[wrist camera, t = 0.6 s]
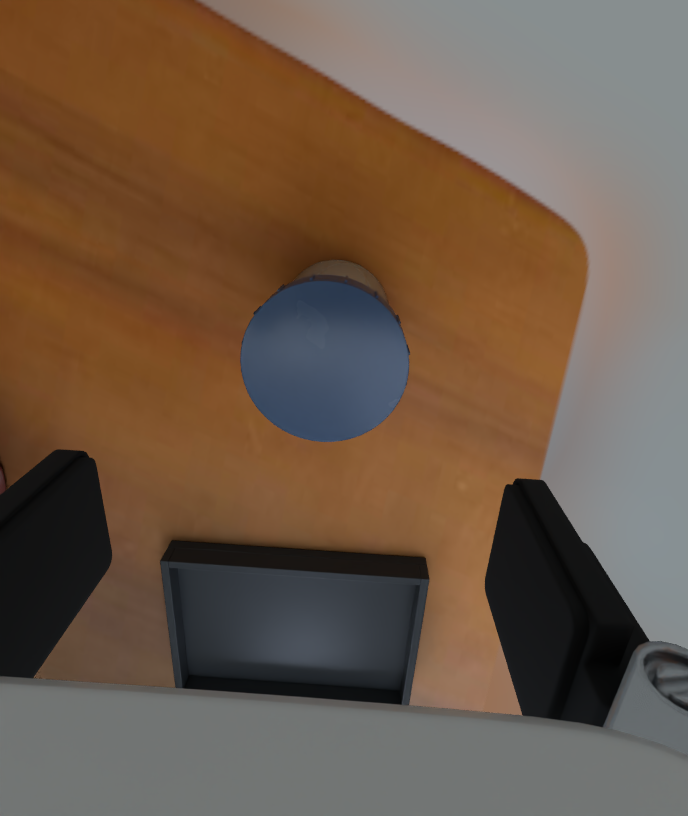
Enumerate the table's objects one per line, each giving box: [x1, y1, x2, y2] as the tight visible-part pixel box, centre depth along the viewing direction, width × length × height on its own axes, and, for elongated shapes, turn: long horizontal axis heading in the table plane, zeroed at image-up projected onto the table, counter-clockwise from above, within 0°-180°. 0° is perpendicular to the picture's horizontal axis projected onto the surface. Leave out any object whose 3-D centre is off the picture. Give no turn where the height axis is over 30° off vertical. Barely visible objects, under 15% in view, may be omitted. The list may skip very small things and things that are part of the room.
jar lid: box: [240, 274, 410, 442], centre depth 21 cm, size 7×7×2 cm
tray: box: [160, 541, 429, 705], centre depth 38 cm, size 19×14×2 cm
